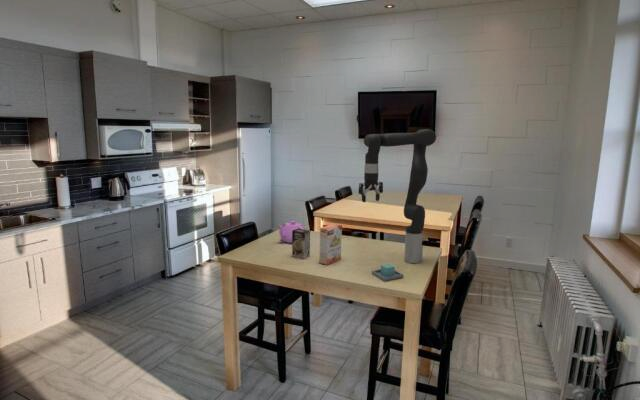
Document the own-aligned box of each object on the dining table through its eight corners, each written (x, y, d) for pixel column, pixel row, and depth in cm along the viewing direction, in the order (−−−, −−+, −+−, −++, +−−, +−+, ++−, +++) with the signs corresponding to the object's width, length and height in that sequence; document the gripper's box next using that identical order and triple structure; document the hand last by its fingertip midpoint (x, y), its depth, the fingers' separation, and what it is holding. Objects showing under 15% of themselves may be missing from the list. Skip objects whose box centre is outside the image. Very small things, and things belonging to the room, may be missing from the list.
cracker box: (327, 265, 216) (327, 229, 212) (319, 263, 220) (319, 227, 216) (341, 259, 227) (342, 224, 223) (333, 257, 231) (333, 222, 227)
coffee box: (291, 256, 231) (291, 230, 228) (298, 253, 236) (297, 228, 233) (304, 259, 226) (304, 232, 223) (310, 256, 232) (310, 230, 229)
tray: (389, 270, 209) (389, 267, 208) (403, 278, 198) (403, 274, 198) (371, 274, 204) (371, 270, 203) (384, 281, 193) (384, 278, 193)
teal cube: (388, 272, 204) (388, 263, 203) (394, 275, 200) (394, 266, 199) (380, 274, 202) (381, 265, 201) (386, 277, 198) (386, 268, 197)
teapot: (268, 241, 263) (267, 221, 260) (293, 235, 277) (292, 216, 275) (288, 248, 247) (287, 227, 244) (313, 241, 262) (313, 221, 259)
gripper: (378, 170, 215) (377, 199, 218) (356, 171, 209) (355, 201, 212) (386, 171, 209) (385, 201, 211) (363, 173, 202) (363, 203, 205)
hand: (370, 201), depth 212 cm, fingers open, 8 cm apart
